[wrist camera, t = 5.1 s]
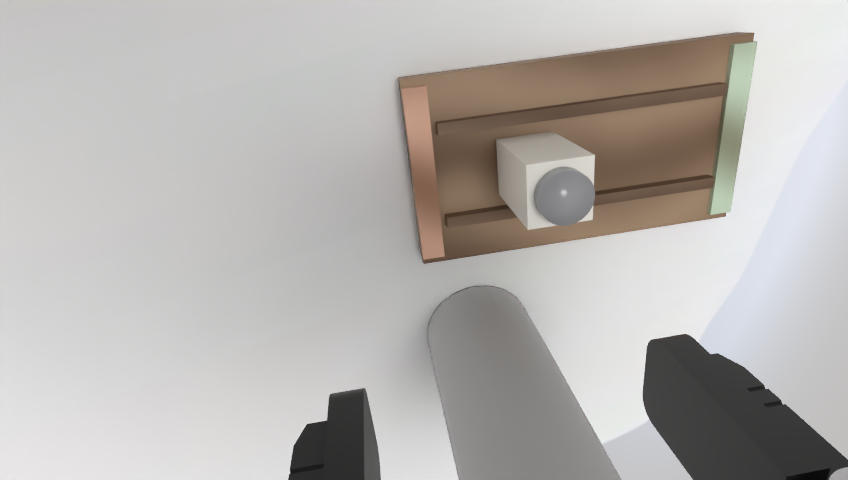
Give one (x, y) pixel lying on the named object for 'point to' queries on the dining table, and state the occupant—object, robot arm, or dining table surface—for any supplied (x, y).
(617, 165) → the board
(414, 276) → the dining table surface
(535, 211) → the slider knob
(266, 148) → the dining table surface
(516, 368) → the bottle
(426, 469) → the dining table surface
